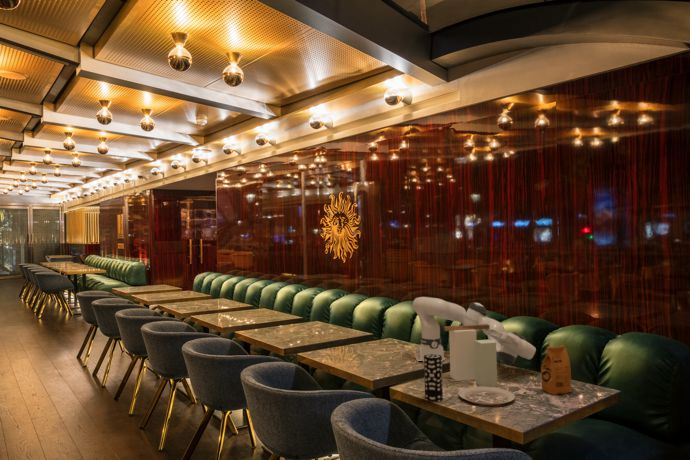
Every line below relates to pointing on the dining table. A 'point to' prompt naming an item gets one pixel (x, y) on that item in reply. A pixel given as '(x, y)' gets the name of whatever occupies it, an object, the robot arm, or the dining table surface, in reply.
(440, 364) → the white-spotted black cylinder
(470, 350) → the tall stand
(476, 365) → the sage pillar
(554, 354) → the coffee package
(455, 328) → the stick
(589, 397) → the dining table surface
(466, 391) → the plate
